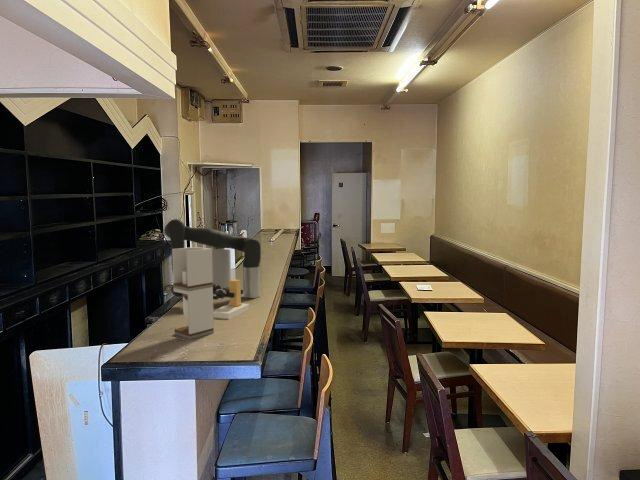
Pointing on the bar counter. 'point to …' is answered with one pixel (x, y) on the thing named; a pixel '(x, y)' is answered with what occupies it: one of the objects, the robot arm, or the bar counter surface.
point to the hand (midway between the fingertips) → (238, 293)
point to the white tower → (194, 289)
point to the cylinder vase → (221, 267)
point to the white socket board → (229, 311)
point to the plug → (235, 292)
